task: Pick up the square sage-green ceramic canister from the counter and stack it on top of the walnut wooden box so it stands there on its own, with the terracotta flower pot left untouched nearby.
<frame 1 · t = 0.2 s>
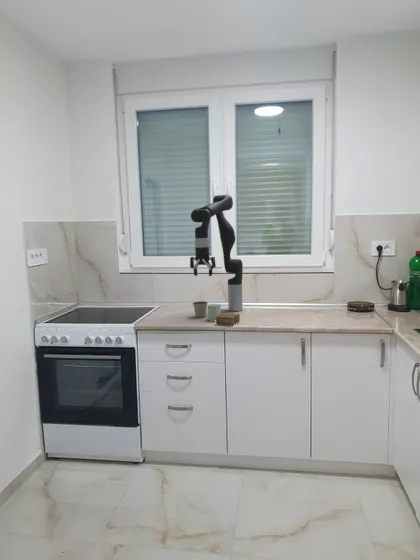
hand: (203, 275, 229), 28 cm above the counter, tool pointing down, fingers open, 8 cm apart
walnut box: (228, 323, 238), on the counter
flower pot: (200, 316, 257), on the counter
canister: (214, 319, 247), on the counter
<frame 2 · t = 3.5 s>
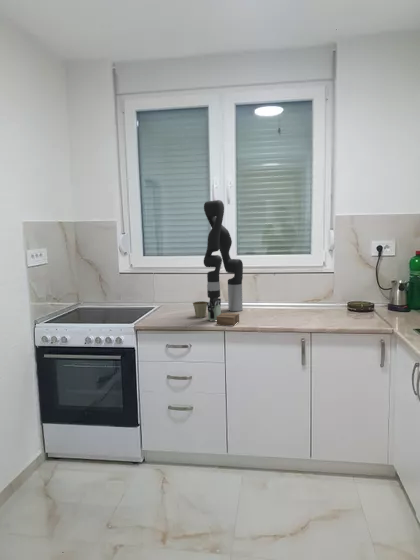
hand: (214, 317, 247), 2 cm above the counter, tool pointing down, fingers closed on canister, 5 cm apart
canister: (214, 319, 247), on the counter, touching gripper
everything else where it was.
when the fingers open (7 cm above the counter, at t = 9.2 s): canister drops 1 cm, point 5 cm above the counter.
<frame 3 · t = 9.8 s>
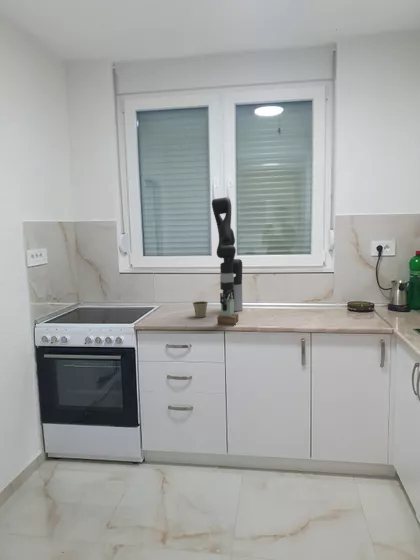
hand: (227, 309, 237), 8 cm above the counter, tool pointing down, fingers open, 8 cm apart
canister: (227, 315, 237), point 5 cm above the counter
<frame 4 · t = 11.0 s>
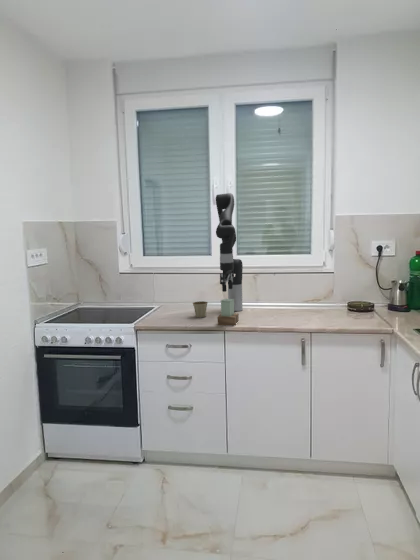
hand: (227, 290, 235), 19 cm above the counter, tool pointing down, fingers open, 8 cm apart
walnut box: (228, 323, 238), on the counter, touching canister
canister: (227, 315, 237), point 5 cm above the counter, touching walnut box
everything else where it was.
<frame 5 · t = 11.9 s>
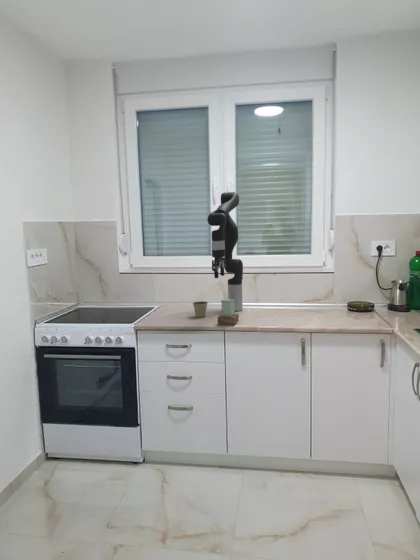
hand: (219, 276, 240), 26 cm above the counter, tool pointing down, fingers open, 8 cm apart
nothing on the counter moved.
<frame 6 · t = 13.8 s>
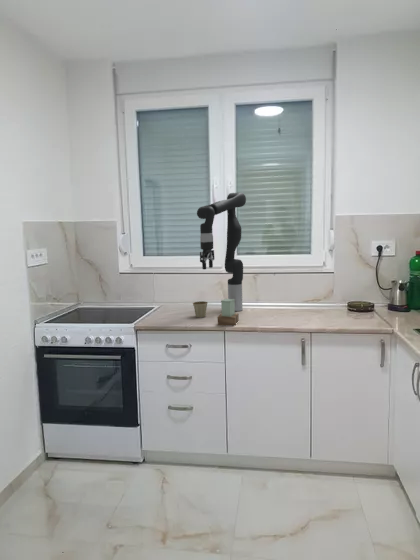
hand: (207, 268, 248), 30 cm above the counter, tool pointing down, fingers open, 8 cm apart
walnut box: (228, 323, 238), on the counter
canister: (228, 315, 237), point 5 cm above the counter
everything else where it was.
at the end: canister inside the target area on the walnut box (0.3 cm from its centre), point 5.0 cm above the walnut box's base; canister tilted 1°; the gripper is holding nothing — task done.
